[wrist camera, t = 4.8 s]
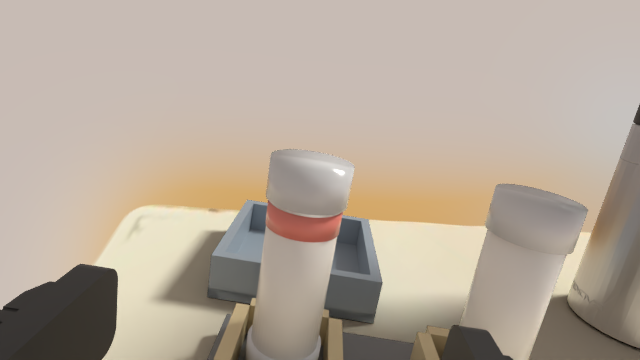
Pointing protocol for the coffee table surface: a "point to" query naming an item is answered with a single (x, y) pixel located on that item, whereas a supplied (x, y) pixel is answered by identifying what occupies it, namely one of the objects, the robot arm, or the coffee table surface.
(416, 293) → the coffee table surface
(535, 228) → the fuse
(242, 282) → the parts tray
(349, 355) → the board
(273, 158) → the marked fuse
